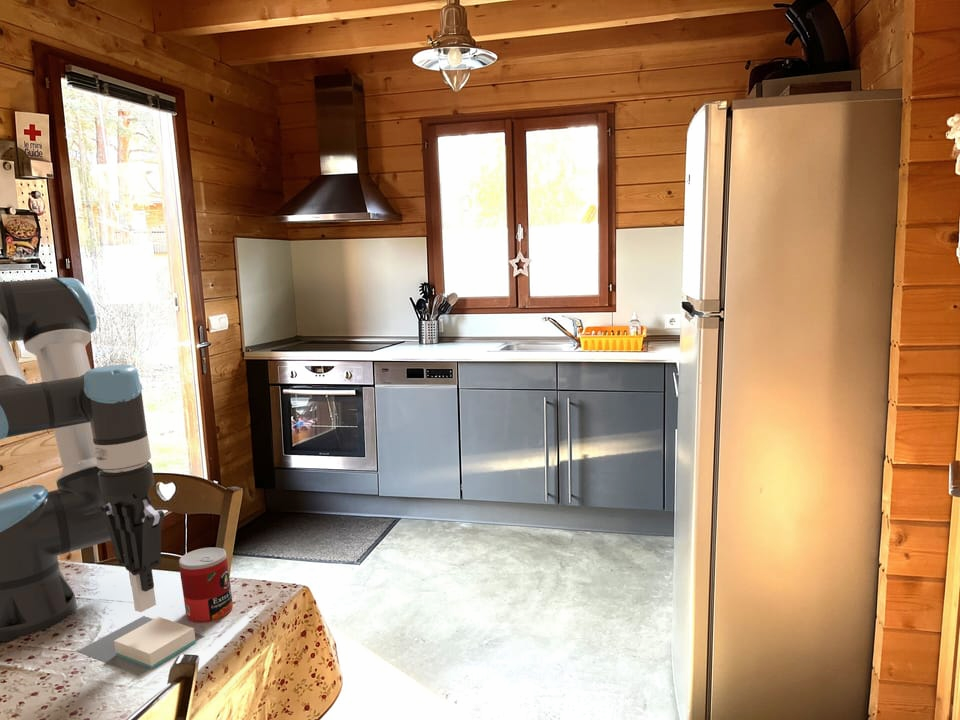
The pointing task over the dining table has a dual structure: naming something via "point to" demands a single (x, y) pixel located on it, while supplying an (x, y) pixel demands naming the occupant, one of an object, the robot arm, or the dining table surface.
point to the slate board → (106, 648)
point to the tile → (154, 642)
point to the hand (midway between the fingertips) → (145, 607)
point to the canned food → (206, 584)
